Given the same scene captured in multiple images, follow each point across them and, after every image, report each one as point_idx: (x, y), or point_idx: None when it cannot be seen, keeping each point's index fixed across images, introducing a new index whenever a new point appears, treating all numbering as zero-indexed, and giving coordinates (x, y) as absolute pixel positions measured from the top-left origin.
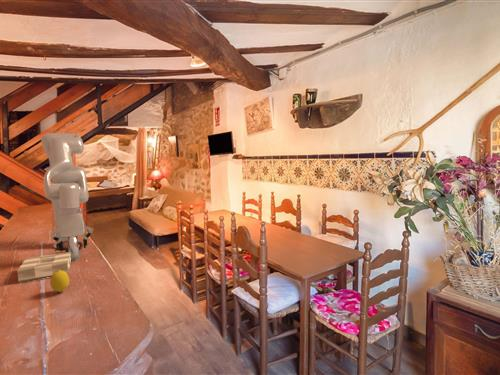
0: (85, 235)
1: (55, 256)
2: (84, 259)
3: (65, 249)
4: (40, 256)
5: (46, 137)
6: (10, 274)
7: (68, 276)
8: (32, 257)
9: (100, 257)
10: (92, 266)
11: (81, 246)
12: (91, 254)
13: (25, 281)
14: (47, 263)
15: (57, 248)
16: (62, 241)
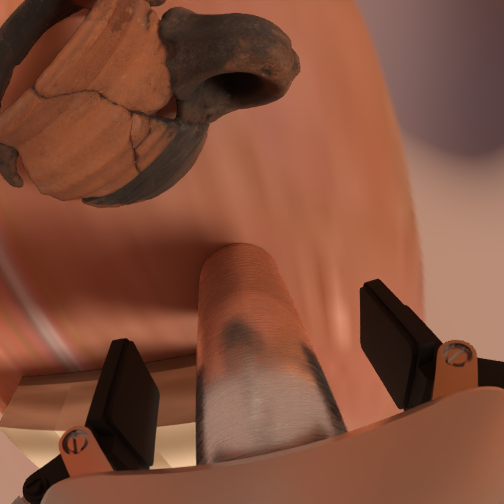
0: (464, 385)
1: (172, 467)
2: (320, 294)
3: (104, 201)
4: (58, 438)
5: None
6: (3, 403)
7: None
8: (22, 432)
9: (420, 276)
10: (370, 408)
11: (279, 97)
12: (358, 165)
13: None
14: None
15: (9, 183)
16: (114, 425)
